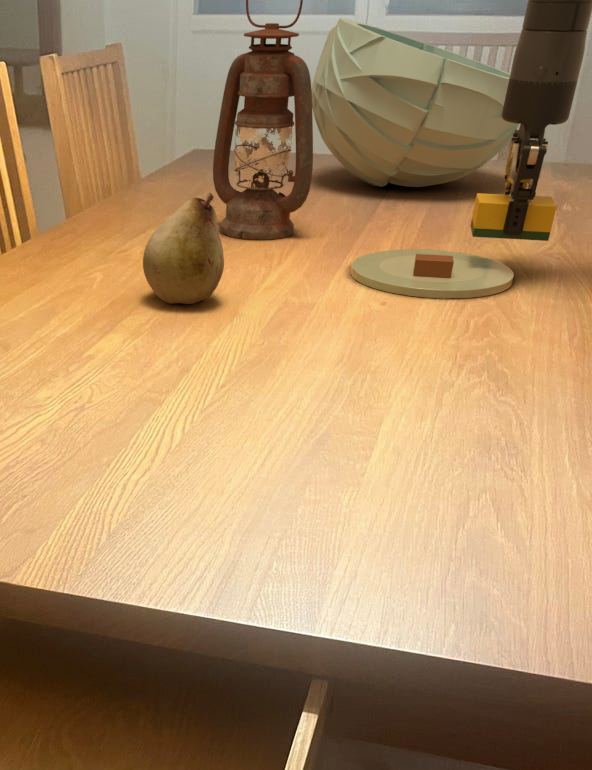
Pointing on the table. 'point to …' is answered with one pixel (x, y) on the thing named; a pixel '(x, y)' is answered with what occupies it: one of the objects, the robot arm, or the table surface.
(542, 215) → the sponge
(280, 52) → the lantern
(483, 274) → the plate
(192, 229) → the fruit
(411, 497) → the table surface
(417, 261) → the brown rectangular block
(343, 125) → the bowl
